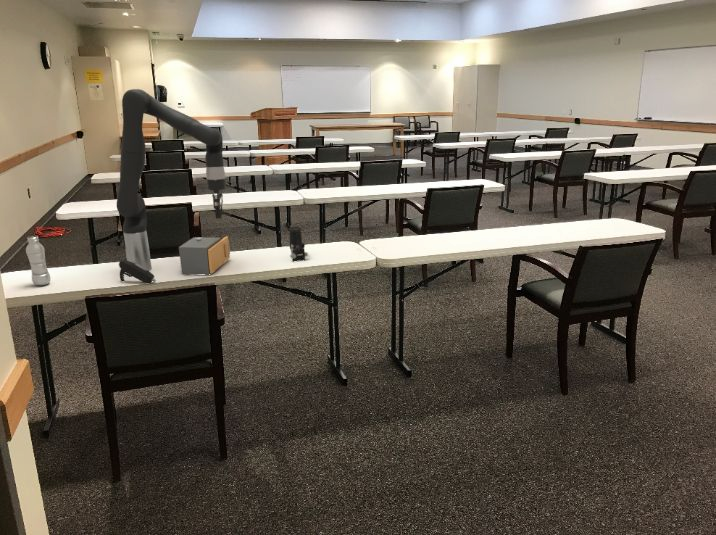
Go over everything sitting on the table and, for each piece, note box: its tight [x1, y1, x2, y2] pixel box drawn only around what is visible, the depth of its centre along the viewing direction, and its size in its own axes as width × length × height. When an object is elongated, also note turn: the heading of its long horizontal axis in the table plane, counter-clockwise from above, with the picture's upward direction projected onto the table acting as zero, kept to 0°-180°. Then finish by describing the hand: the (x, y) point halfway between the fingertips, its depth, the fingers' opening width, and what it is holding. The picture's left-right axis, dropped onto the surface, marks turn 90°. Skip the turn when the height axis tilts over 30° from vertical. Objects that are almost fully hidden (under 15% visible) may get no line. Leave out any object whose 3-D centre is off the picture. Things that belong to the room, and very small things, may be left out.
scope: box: [288, 226, 309, 263], centre depth 253 cm, size 8×14×10 cm
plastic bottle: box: [25, 235, 51, 286], centre depth 223 cm, size 6×7×20 cm
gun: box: [118, 259, 156, 284], centre depth 226 cm, size 3×16×10 cm, turn 78°
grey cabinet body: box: [178, 236, 221, 276], centre depth 240 cm, size 14×16×13 cm
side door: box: [208, 236, 231, 274], centre depth 242 cm, size 2×22×10 cm, turn 173°
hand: (219, 216), depth 234 cm, fingers open, 8 cm apart
